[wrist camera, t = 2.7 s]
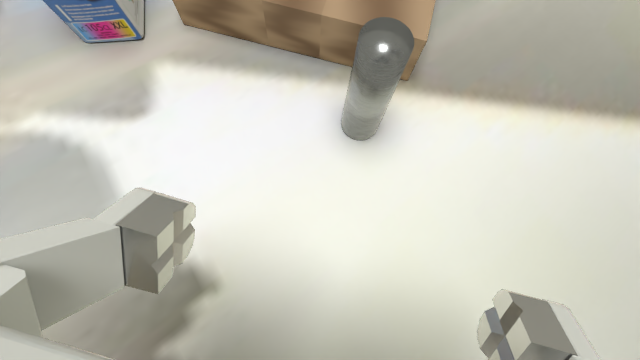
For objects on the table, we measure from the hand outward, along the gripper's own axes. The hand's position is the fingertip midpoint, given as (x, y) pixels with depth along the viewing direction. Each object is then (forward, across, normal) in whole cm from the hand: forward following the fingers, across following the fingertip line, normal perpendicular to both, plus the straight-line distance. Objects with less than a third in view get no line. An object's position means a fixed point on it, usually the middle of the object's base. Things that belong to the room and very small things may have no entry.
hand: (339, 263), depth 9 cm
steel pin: (+20, 0, +3) cm, 20 cm away
